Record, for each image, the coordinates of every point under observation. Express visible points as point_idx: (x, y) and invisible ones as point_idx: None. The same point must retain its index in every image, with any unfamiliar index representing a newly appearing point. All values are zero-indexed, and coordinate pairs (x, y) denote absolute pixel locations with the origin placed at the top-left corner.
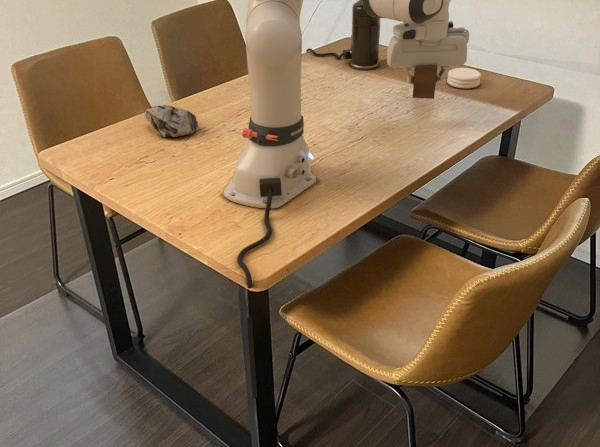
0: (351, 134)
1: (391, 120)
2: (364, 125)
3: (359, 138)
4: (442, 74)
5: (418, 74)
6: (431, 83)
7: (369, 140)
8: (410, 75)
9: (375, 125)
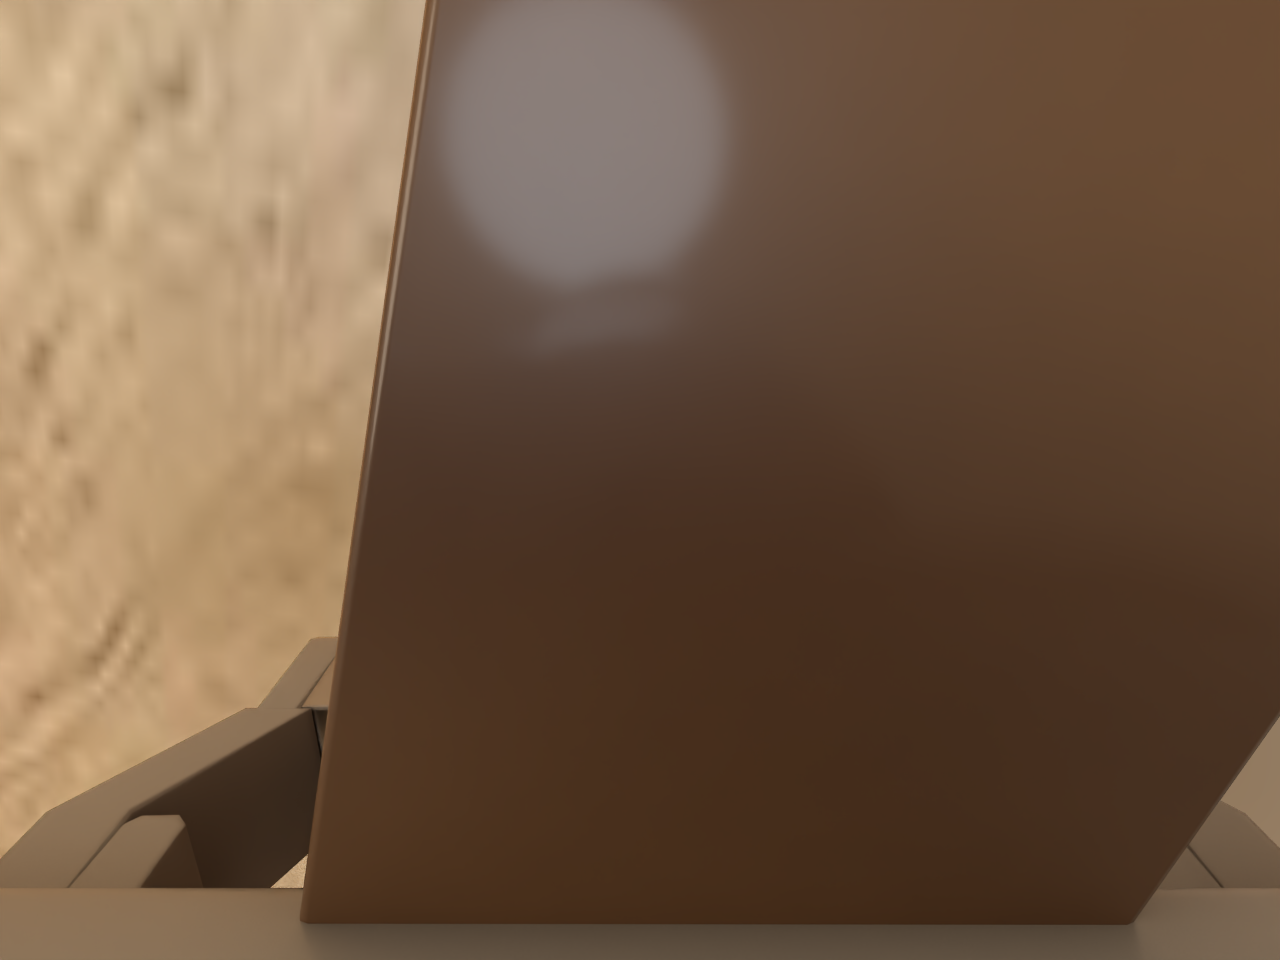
0: (18, 564)
1: (381, 311)
2: (116, 397)
3: (94, 639)
4: None
5: None
6: None
7: (176, 678)
8: (286, 872)
9: (221, 410)
